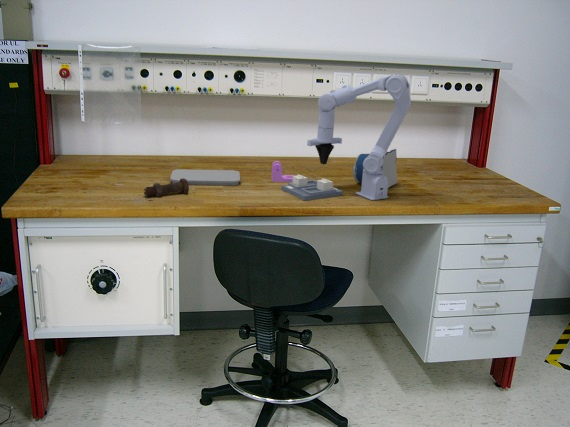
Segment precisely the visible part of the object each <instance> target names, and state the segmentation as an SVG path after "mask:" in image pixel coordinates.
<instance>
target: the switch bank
mask: <svg viewBox="0 0 570 427" xmlns="http://www.w3.org/2000/svg"><path fill="white" fill-rule="evenodd" d="M287 183H288V184H283V185H281V186H280V187H281V188H280V189H281V191H283V192H285V193H287V192H288V193H287V194H289V193H290V194H289V195H291V194H292V195H291V196H293V195H294V197H295V196H296V197H295V198H297V197H298V199H299V198H300V199H299V200H301V199H302V201H303V200H304V201H303V202H305V201H313V200H318V199H319V200H320V199H326V198H332V197H334V198H335V197H339V196H340V197H341V196H343V195H344V191H343V190H341V189H339V188H336V187H334V186H333V187H332V189H331V190H324V191H321V190H319V189H317V180H315V179H311V180H308V183H307V185H306V186H296V185H294V184H292V182H287Z"/></svg>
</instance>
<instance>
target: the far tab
mask: <svg viewBox="0 0 570 427" xmlns="http://www.w3.org/2000/svg"><path fill="white" fill-rule="evenodd" d="M296 175H297V176H293V181H292V182H291V183H292V184H294V185H296V186H306V185H307V183H308V181H309V180H308V178H309V177H307V176H304V175H301V174H299V173H298V174H296Z"/></svg>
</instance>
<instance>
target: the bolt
mask: <svg viewBox="0 0 570 427" xmlns="http://www.w3.org/2000/svg"><path fill="white" fill-rule="evenodd" d="M143 191H144V192H143V194H144V196H146V197H152V196H154V197H156V198H160V197H162V195H164V194H165V195H166V194H172V193H182V194H183V195H186V194H188V193H189V191H190V185H189V184H188V182H187V180H186V179H184V178H182V179H180V182H177V183H166V184H161V183H158V182H156V183H153V185H152V186H147V187H145V188H144V189H143Z"/></svg>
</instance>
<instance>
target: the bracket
mask: <svg viewBox="0 0 570 427" xmlns="http://www.w3.org/2000/svg"><path fill="white" fill-rule="evenodd" d="M282 166H283V165H282V163H281V162H280V161H277V160H276V161H273V162H272V163H271V182H277V183H278V182H282V183H283V182H284V183H292V181H293V176H297V175H298V174H295V175H293V174H291V175H290V174H283V167H282Z"/></svg>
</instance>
